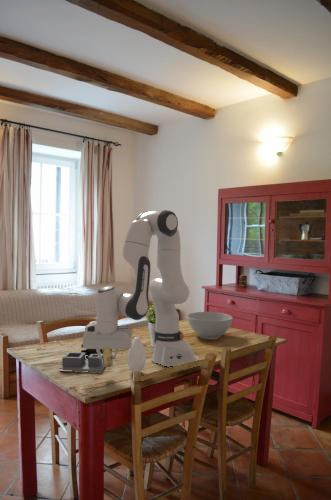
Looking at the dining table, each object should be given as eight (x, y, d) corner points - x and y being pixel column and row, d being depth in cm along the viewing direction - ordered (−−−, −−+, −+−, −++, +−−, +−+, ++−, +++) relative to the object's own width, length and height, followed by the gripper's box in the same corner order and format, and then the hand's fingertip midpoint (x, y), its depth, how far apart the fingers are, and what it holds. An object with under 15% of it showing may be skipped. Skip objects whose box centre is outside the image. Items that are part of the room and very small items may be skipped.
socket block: (106, 363, 178) (107, 352, 178) (101, 373, 166) (101, 360, 166) (68, 362, 179) (68, 350, 179) (59, 371, 167) (59, 358, 167)
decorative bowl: (179, 333, 237) (179, 313, 236) (216, 329, 248) (216, 310, 248) (201, 344, 212) (201, 322, 212) (241, 340, 224) (242, 319, 223)
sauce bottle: (145, 369, 171) (146, 329, 171) (145, 376, 164) (146, 334, 163) (127, 369, 171) (128, 329, 170) (126, 376, 163) (127, 333, 163)
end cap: (102, 359, 184) (103, 345, 184) (88, 362, 180) (89, 347, 180) (94, 354, 193) (94, 340, 192) (80, 356, 189) (81, 342, 189)
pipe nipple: (113, 363, 163) (113, 345, 163) (111, 367, 159) (111, 348, 159) (104, 363, 163) (103, 344, 163) (102, 367, 159) (101, 347, 159)
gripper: (133, 324, 163) (133, 356, 164) (85, 324, 164) (85, 356, 165) (131, 328, 157) (131, 361, 157) (81, 327, 158) (81, 361, 159)
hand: (107, 358), depth 161 cm, fingers closed on pipe nipple, 4 cm apart
